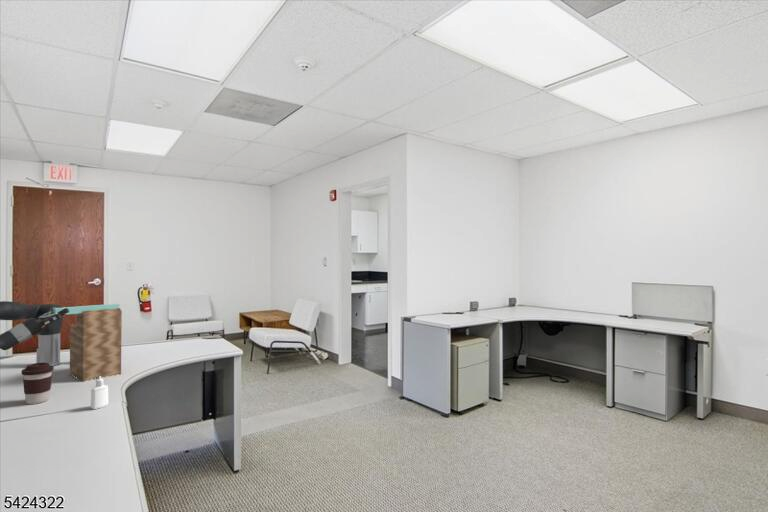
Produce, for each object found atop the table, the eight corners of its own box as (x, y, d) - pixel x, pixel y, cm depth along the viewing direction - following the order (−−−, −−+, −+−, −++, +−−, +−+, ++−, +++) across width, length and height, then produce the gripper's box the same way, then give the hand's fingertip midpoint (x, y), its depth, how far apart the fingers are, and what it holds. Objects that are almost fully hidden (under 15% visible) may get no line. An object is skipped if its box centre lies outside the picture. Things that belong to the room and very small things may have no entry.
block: (55, 315, 187) (55, 308, 187) (52, 314, 189) (52, 308, 189) (119, 310, 207) (119, 304, 207) (116, 309, 210) (116, 303, 210)
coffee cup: (24, 407, 158) (25, 368, 158) (18, 402, 164) (18, 365, 164) (56, 400, 166) (56, 363, 166) (49, 395, 172) (49, 360, 172)
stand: (83, 381, 192) (83, 311, 193) (69, 374, 205) (70, 308, 205) (121, 374, 205) (121, 308, 205) (106, 367, 217) (106, 305, 218)
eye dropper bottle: (108, 407, 158) (109, 376, 159) (90, 410, 155) (91, 378, 155) (108, 404, 162) (108, 373, 162) (90, 407, 158) (90, 376, 159)
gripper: (24, 325, 174) (65, 303, 185) (16, 322, 183) (55, 301, 194) (35, 338, 177) (74, 316, 188) (27, 335, 186) (65, 314, 197)
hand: (65, 309), depth 191 cm, fingers open, 8 cm apart
